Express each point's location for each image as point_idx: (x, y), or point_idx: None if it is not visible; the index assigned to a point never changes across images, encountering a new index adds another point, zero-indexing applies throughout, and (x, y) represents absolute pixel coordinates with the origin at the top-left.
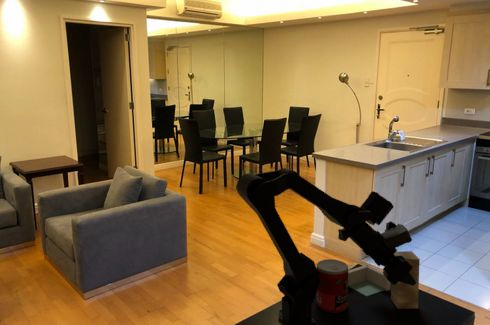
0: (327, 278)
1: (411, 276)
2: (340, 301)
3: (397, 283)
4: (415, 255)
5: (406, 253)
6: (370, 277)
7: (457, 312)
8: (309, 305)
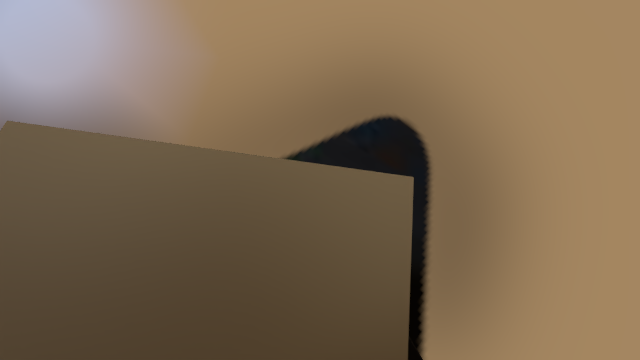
0: None
1: (408, 337)
2: None
3: None
4: (215, 159)
5: (23, 304)
6: None
7: (384, 131)
8: None
